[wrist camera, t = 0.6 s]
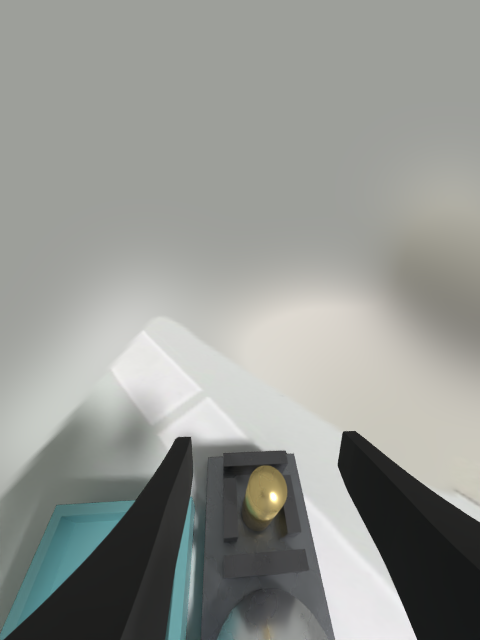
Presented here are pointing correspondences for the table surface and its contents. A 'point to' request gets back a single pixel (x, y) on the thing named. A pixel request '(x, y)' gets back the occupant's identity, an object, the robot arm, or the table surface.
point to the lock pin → (263, 497)
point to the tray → (77, 544)
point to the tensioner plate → (259, 560)
